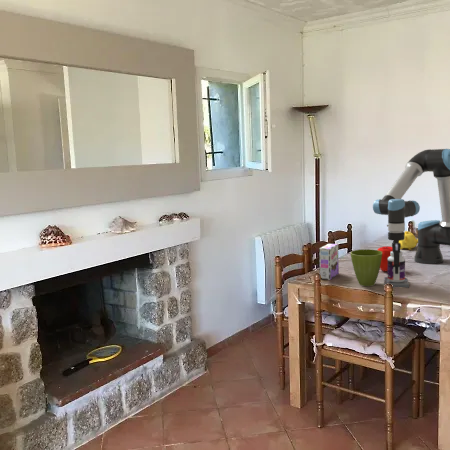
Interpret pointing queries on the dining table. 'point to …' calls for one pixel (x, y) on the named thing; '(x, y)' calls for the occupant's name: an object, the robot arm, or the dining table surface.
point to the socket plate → (401, 284)
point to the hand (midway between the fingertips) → (396, 277)
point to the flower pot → (366, 265)
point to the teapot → (408, 241)
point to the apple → (385, 257)
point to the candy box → (328, 261)
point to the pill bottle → (402, 266)
